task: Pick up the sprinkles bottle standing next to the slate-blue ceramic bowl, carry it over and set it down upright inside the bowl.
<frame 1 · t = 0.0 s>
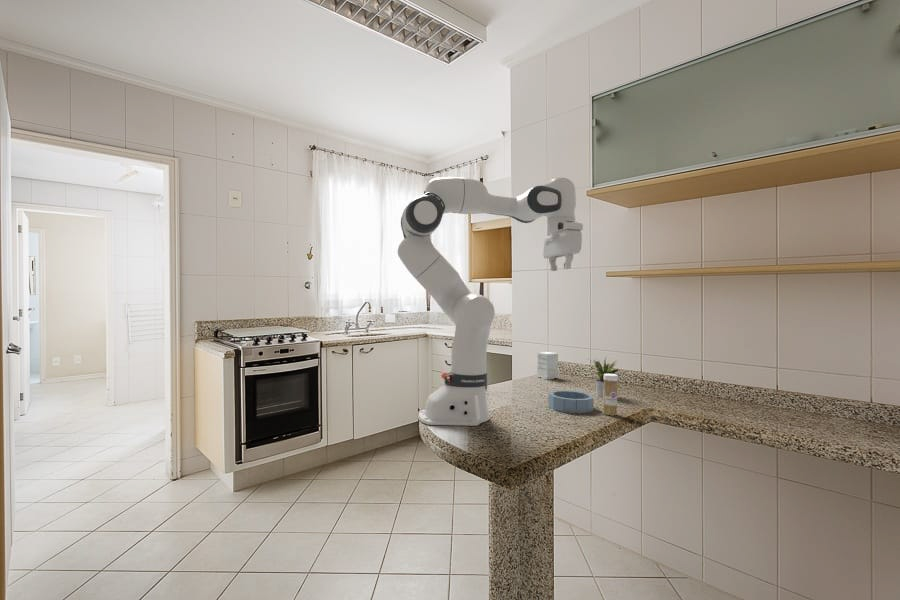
hand: (560, 269, 139), 48 cm above the worktop, tool pointing down, fingers open, 8 cm apart
house plant: (601, 396, 169), on the worktop
white canister: (547, 378, 208), on the worktop
bowl: (570, 407, 149), on the worktop
sprinkles bottle: (609, 414, 141), on the worktop
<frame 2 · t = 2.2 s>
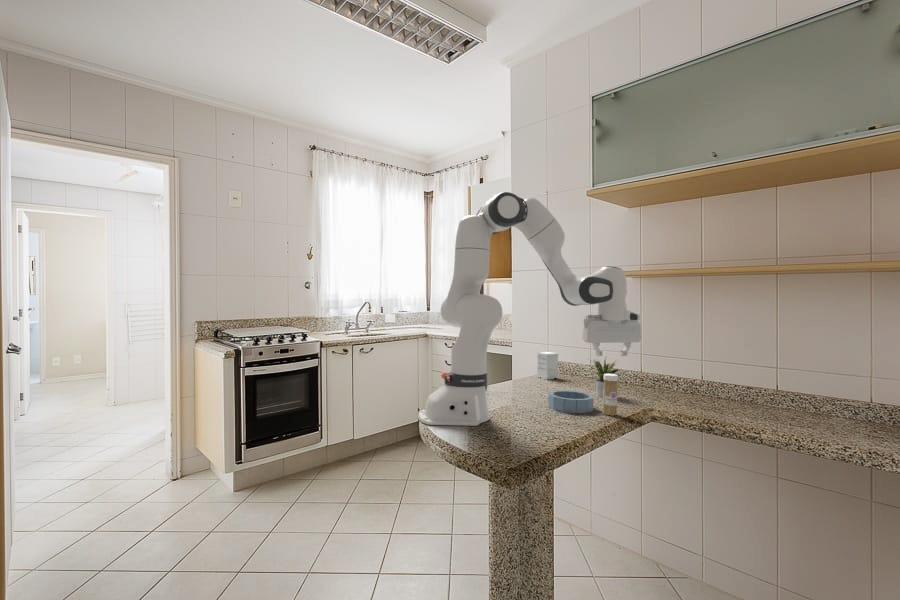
hand: (611, 356, 141), 20 cm above the worktop, tool pointing down, fingers open, 8 cm apart
nothing on the worktop moved.
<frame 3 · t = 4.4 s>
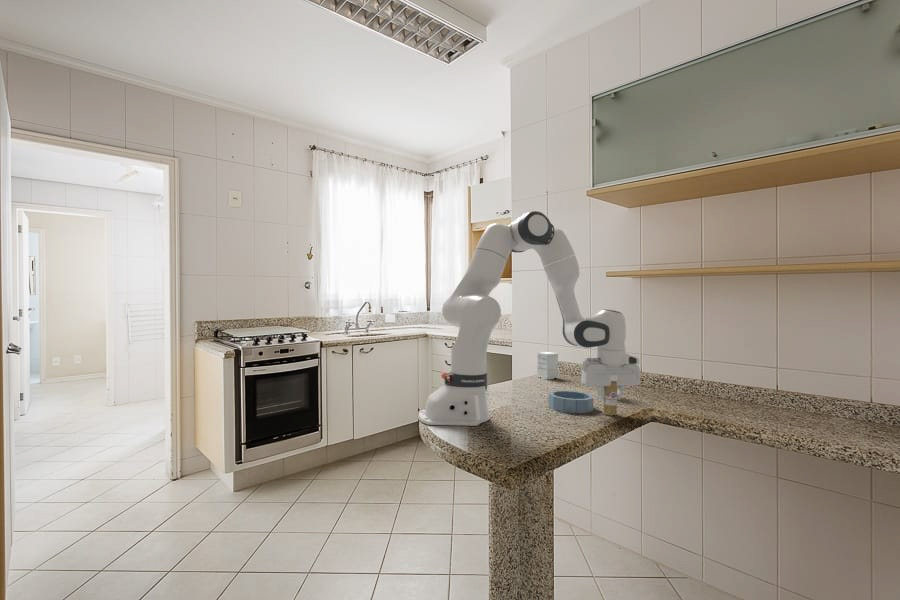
hand: (610, 399, 141), 5 cm above the worktop, tool pointing down, fingers closed on sprinkles bottle, 4 cm apart
sprinkles bottle: (609, 414, 141), on the worktop, touching gripper
everything else where it was.
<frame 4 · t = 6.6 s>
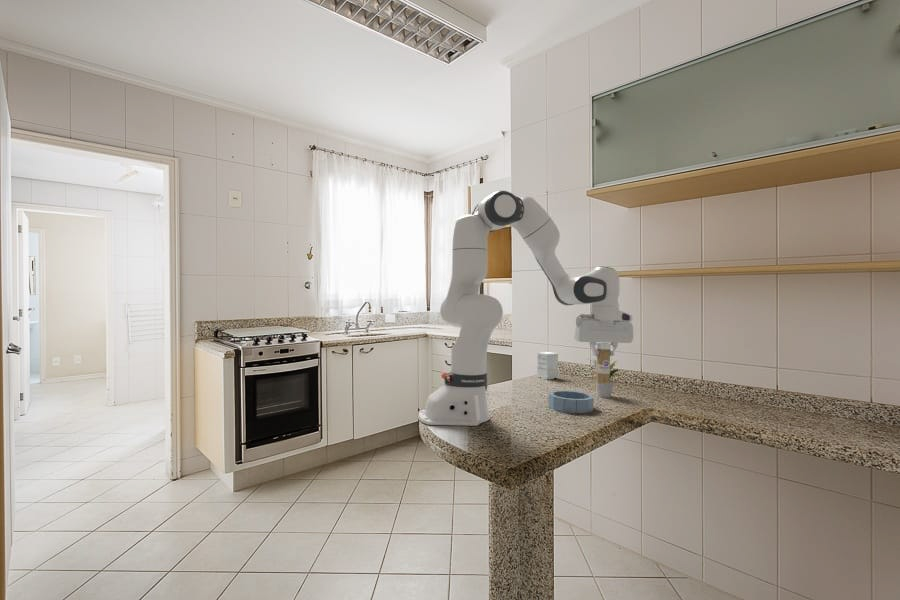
hand: (603, 355, 142), 19 cm above the worktop, tool pointing down, fingers closed on sprinkles bottle, 4 cm apart
sprinkles bottle: (602, 383, 142), point 10 cm above the worktop, touching gripper
everything else where it was.
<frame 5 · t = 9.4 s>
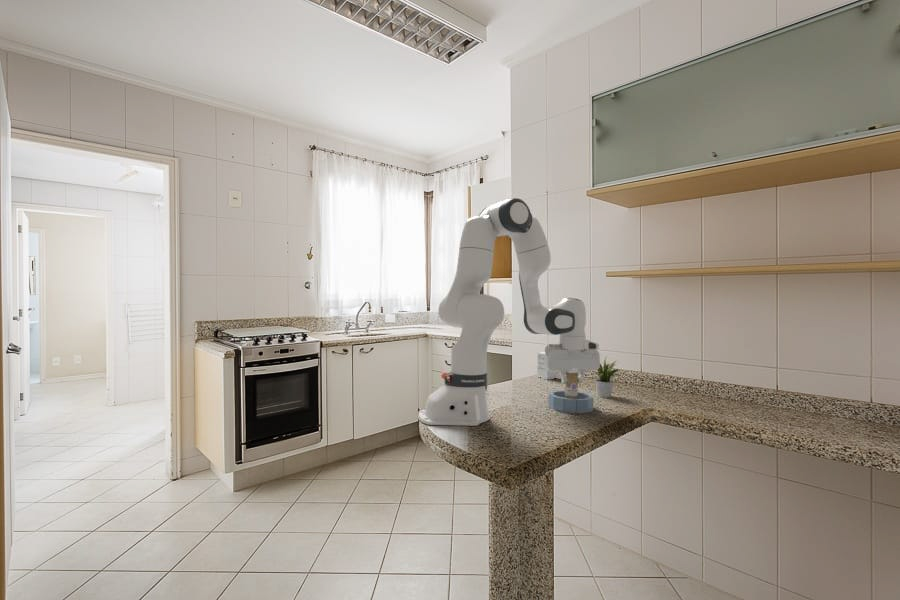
hand: (571, 382, 149), 9 cm above the worktop, tool pointing down, fingers closed on sprinkles bottle, 4 cm apart
sprinkles bottle: (571, 405, 149), point 1 cm above the worktop, touching bowl, gripper
everything else where it was.
when the fingers open (8 cm above the worktop, at t = 10.3 s): sprinkles bottle stays where it is, resting on bowl.
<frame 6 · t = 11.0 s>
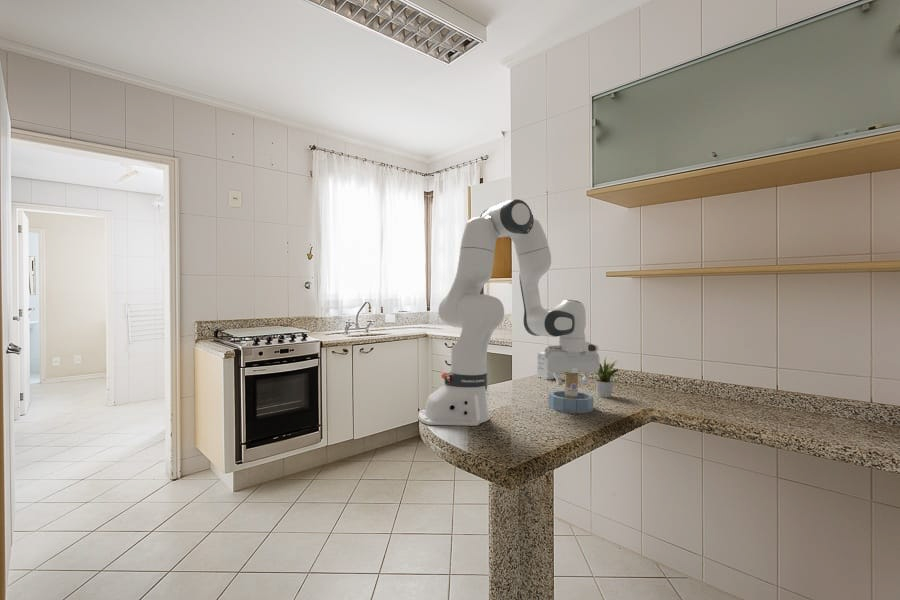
hand: (571, 384, 149), 8 cm above the worktop, tool pointing down, fingers open, 8 cm apart
sprinkles bottle: (571, 405, 149), point 1 cm above the worktop, touching bowl
everything else where it was.
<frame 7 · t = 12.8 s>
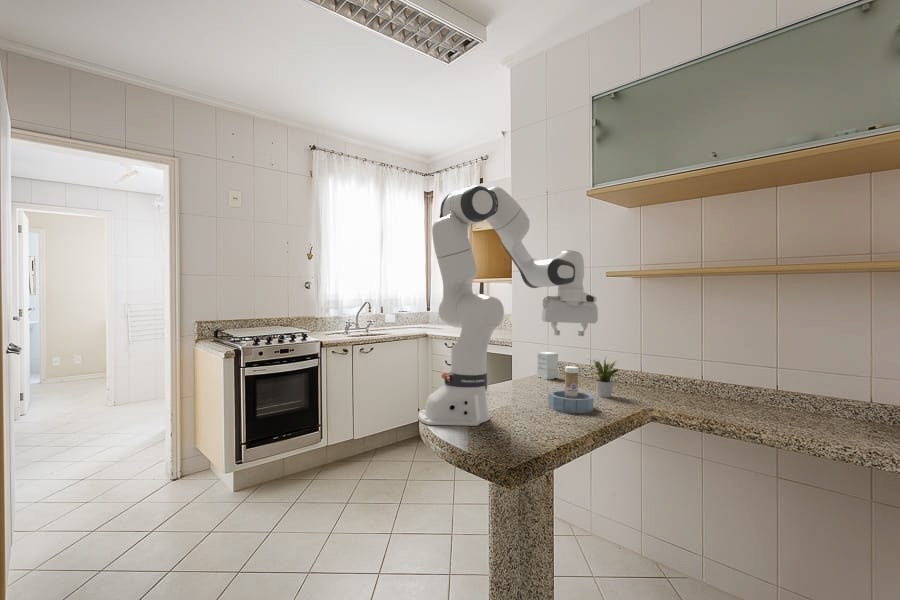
hand: (569, 335, 149), 25 cm above the worktop, tool pointing down, fingers open, 8 cm apart
nothing on the worktop moved.
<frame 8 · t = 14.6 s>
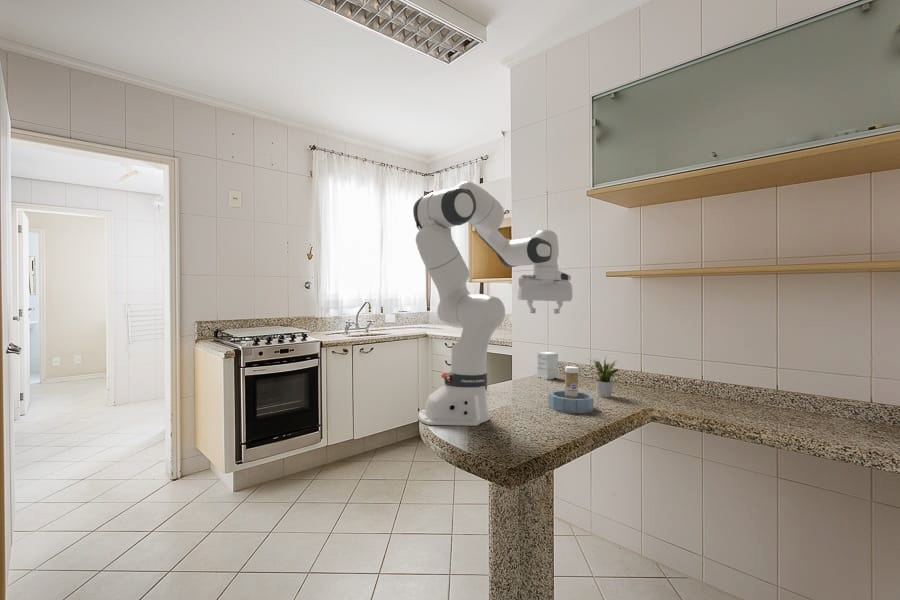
hand: (544, 313, 153), 33 cm above the worktop, tool pointing down, fingers open, 8 cm apart
nothing on the worktop moved.
at the end: sprinkles bottle inside the target area on the bowl (0.3 cm from its centre), point 0.8 cm above the bowl's base; sprinkles bottle tilted 0°; the gripper is holding nothing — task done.
